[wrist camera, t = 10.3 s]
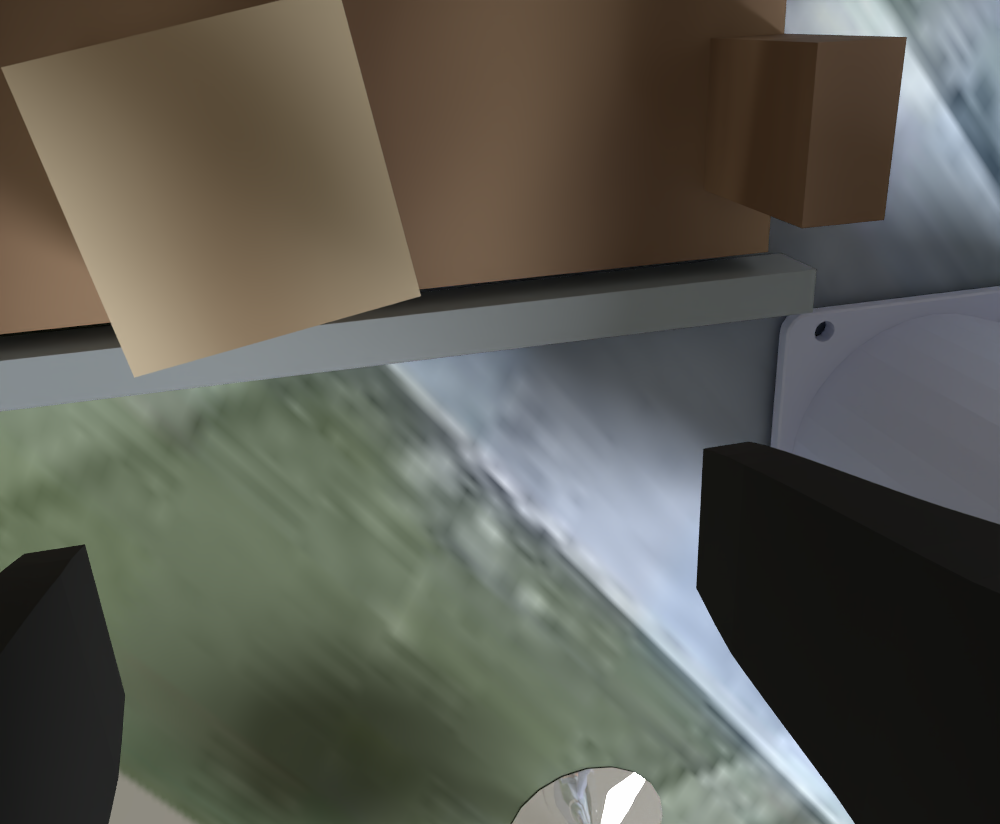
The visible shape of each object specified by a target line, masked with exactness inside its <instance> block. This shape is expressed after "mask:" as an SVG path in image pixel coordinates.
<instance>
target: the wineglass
mask: <svg viewBox="0 0 1000 824" xmlns="http://www.w3.org/2000/svg"><path fill="white" fill-rule="evenodd" d="M662 816H663V815H662V807H661V800H660V797H659V795H658V794H657V792H656V791H655V789H654V788H653V786H652V784H651V783H650V782H648V781H647V780H645V779H644V778H642V777H641V776H639V775H637V774H636V773H634V772H630V771H626V770H622V769H617V768H613V767H611V768H596V769H586V770H583V771H580V772H577V773H573V774H570V775H567V776H564V777H561V778H560V779H558V780H556V781H555V782H553V783H551V784H550V785H548V786H546V787H544V788H543V789H541V790H539V791H538V792H537V793H536V794H535V795H534V796H533V797H532V798H531V799H530V800H529V801H528V802H527V803H526V804H525V805H524V806H523V807H522V808H521V809H520V811H519V813H518V815H517V816H516V818H515V820H514V821H513V823H512V824H661V820H662Z"/></svg>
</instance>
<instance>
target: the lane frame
mask: <svg viewBox="0 0 1000 824" xmlns="http://www.w3.org/2000/svg"><path fill="white" fill-rule="evenodd" d="M816 271H817V269H815V268H813V267H810V266H808V265H806V264H804V263H802V262H799V261H797V260H795V259H793V258H791V257H788V256H786V255H784V254H782V253H776V254H767V255H758V256H748V257H739V258H730V259H720V260H711V261H702V262H693V263H683V264H674V265H665V266H655V267H646V268H637V269H627V270H618V271H609V272H600V273H590V274H581V275H572V276H562V277H553V278H544V279H535V280H525V281H516V282H507V283H497V284H488V285H479V286H470V287H460V288H451V289H442V290H432V291H423V292H420V294H421V296H420V297H416V298H413V299H409V300H405V301H402V302H398V303H395V304H391V305H388V306H384V307H381V308H377V309H374V310H370V311H367V312H363V313H360V314H356V315H353V316H349V317H346V318H342V319H339V320H335V321H332V322H328V323H325V324H321V325H318V326H314V327H311V328H307V329H304V330H300V331H297V332H293V333H290V334H286V335H283V336H279V337H275V338H272V339H268V340H265V341H261V342H258V343H254V344H251V345H247V346H244V347H240V348H237V349H233V350H230V351H226V352H223V353H219V354H216V355H212V356H209V357H205V358H202V359H198V360H195V361H191V362H188V363H184V364H181V365H177V366H174V367H170V368H167V369H163V370H160V371H156V372H153V373H149V374H145V375H142V376H138V377H135V378H134V376H133V373H132V371H131V369H130V366H129V364H128V362H127V359H126V357H125V355H124V352H123V350H122V348H121V346H120V343H119V341H118V339H117V336H116V334H115V332H114V329H113V327H112V325H107V326H98V327H89V328H79V329H70V330H61V331H52V332H42V333H33V334H24V335H14V336H5V337H0V411H8V410H16V409H24V408H32V407H40V406H49V405H57V404H65V403H73V402H81V401H90V400H98V399H106V398H114V397H122V396H131V395H139V394H147V393H155V392H163V391H172V390H180V389H188V388H196V387H204V386H213V385H221V384H229V383H237V382H245V381H254V380H262V379H270V378H278V377H286V376H295V375H303V374H311V373H319V372H328V371H336V370H344V369H352V368H360V367H369V366H377V365H385V364H393V363H401V362H410V361H418V360H426V359H434V358H442V357H451V356H459V355H467V354H475V353H483V352H492V351H500V350H508V349H516V348H524V347H533V346H541V345H549V344H557V343H565V342H574V341H582V340H590V339H598V338H606V337H615V336H623V335H631V334H639V333H647V332H656V331H664V330H672V329H680V328H688V327H697V326H705V325H713V324H721V323H730V322H738V321H746V320H754V319H762V318H771V317H779V316H787V315H795V314H803V313H812V312H813V303H814V292H815V282H816Z"/></svg>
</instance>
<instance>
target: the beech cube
mask: <svg viewBox="0 0 1000 824" xmlns="http://www.w3.org/2000/svg"><path fill="white" fill-rule="evenodd" d="M1 69H2V71H3V73H4V76H5V78H6V80H7V83H8V85H9V87H10V90H11V92H12V94H13V97H14V99H15V101H16V104H17V106H18V108H19V111H20V113H21V115H22V118H23V120H24V122H25V125H26V127H27V129H28V132H29V134H30V136H31V139H32V141H33V143H34V146H35V148H36V150H37V153H38V155H39V157H40V160H41V162H42V164H43V166H44V169H45V171H46V173H47V176H48V178H49V180H50V183H51V185H52V187H53V190H54V192H55V194H56V197H57V199H58V201H59V204H60V206H61V208H62V211H63V213H64V215H65V218H66V220H67V222H68V225H69V227H70V229H71V232H72V234H73V236H74V239H75V241H76V243H77V246H78V248H79V250H80V253H81V255H82V257H83V259H84V262H85V264H86V266H87V269H88V271H89V273H90V276H91V278H92V280H93V283H94V285H95V287H96V290H97V292H98V294H99V297H100V299H101V301H102V304H103V306H104V308H105V311H106V313H107V315H108V318H109V320H110V322H111V325H112V327H113V329H114V332H115V334H116V336H117V339H118V341H119V343H120V346H121V348H122V350H123V352H124V355H125V357H126V359H127V362H128V364H129V366H130V369H131V371H132V373H133V376H134V378H135V377H138V376H142V375H145V374H149V373H153V372H156V371H160V370H163V369H167V368H170V367H174V366H177V365H181V364H184V363H188V362H191V361H195V360H198V359H202V358H205V357H209V356H212V355H216V354H219V353H223V352H226V351H230V350H233V349H237V348H240V347H244V346H247V345H251V344H254V343H258V342H261V341H265V340H268V339H272V338H275V337H279V336H283V335H286V334H290V333H293V332H297V331H300V330H304V329H307V328H311V327H314V326H318V325H321V324H325V323H328V322H332V321H335V320H339V319H342V318H346V317H349V316H353V315H356V314H360V313H363V312H367V311H370V310H374V309H377V308H381V307H384V306H388V305H391V304H395V303H398V302H402V301H405V300H409V299H413V298H416V297H420V296H421V294H420V290H419V286H418V283H417V279H416V275H415V272H414V268H413V264H412V260H411V257H410V253H409V249H408V245H407V242H406V238H405V234H404V231H403V227H402V223H401V219H400V216H399V212H398V208H397V205H396V201H395V197H394V193H393V190H392V186H391V182H390V178H389V175H388V171H387V167H386V164H385V160H384V156H383V152H382V149H381V145H380V141H379V138H378V134H377V130H376V126H375V123H374V119H373V115H372V111H371V108H370V104H369V100H368V97H367V93H366V89H365V85H364V82H363V78H362V74H361V71H360V67H359V63H358V59H357V56H356V52H355V48H354V44H353V41H352V37H351V33H350V30H349V26H348V22H347V18H346V15H345V11H344V7H343V4H342V0H279V1H275V2H271V3H267V4H263V5H258V6H254V7H250V8H246V9H242V10H238V11H234V12H229V13H225V14H221V15H217V16H213V17H209V18H205V19H200V20H196V21H192V22H188V23H184V24H180V25H175V26H171V27H167V28H163V29H159V30H155V31H151V32H146V33H142V34H138V35H134V36H130V37H126V38H122V39H117V40H113V41H109V42H105V43H101V44H97V45H93V46H88V47H84V48H80V49H76V50H72V51H68V52H63V53H59V54H55V55H51V56H47V57H43V58H39V59H34V60H30V61H26V62H22V63H18V64H14V65H10V66H5V67H1Z"/></svg>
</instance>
